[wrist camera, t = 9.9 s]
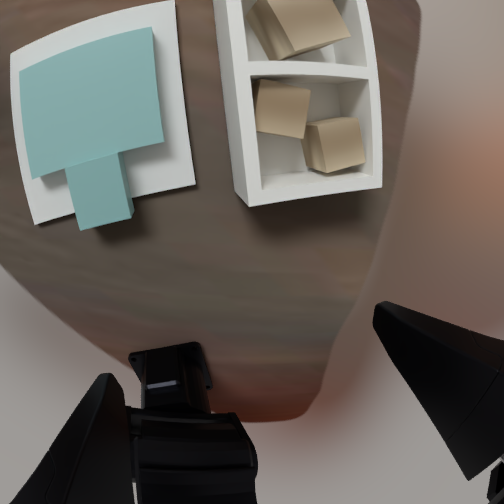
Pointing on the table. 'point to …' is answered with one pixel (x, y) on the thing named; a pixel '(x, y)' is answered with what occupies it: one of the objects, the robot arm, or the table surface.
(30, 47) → the mat
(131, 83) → the lid
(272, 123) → the cube
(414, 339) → the robot arm
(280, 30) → the cube
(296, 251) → the table surface
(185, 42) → the table surface
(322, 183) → the tub
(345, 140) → the cube
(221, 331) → the table surface
